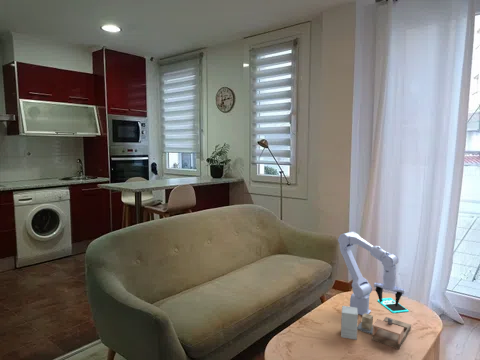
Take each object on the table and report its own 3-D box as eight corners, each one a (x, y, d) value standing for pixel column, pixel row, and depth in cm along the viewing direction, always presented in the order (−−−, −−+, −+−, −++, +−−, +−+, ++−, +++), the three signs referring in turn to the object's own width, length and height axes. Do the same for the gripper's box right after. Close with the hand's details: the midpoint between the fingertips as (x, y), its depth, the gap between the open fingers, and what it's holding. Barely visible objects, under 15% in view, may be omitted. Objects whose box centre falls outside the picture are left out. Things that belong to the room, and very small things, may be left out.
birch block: (361, 327, 168) (362, 316, 168) (364, 324, 171) (364, 313, 171) (369, 330, 166) (370, 318, 165) (372, 327, 169) (372, 315, 168)
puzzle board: (371, 339, 159) (372, 335, 159) (385, 320, 176) (385, 316, 176) (399, 349, 152) (399, 345, 152) (410, 328, 169) (411, 324, 169)
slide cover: (372, 334, 159) (373, 320, 158) (377, 328, 165) (377, 314, 164) (399, 344, 152) (400, 329, 151) (403, 337, 157) (404, 322, 156)
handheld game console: (391, 299, 201) (391, 297, 201) (409, 312, 186) (409, 310, 185) (375, 300, 199) (375, 298, 199) (393, 314, 184) (393, 311, 184)
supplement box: (356, 332, 165) (358, 307, 164) (356, 340, 159) (358, 314, 157) (341, 329, 168) (342, 305, 166) (340, 337, 161) (341, 312, 159)
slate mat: (356, 329, 168) (356, 327, 168) (361, 322, 174) (361, 321, 174) (372, 334, 163) (372, 333, 163) (377, 327, 169) (377, 326, 169)
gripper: (372, 277, 173) (371, 302, 174) (402, 284, 164) (401, 310, 165) (376, 273, 178) (375, 297, 179) (406, 279, 169) (405, 305, 170)
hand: (388, 303), depth 173 cm, fingers open, 7 cm apart
